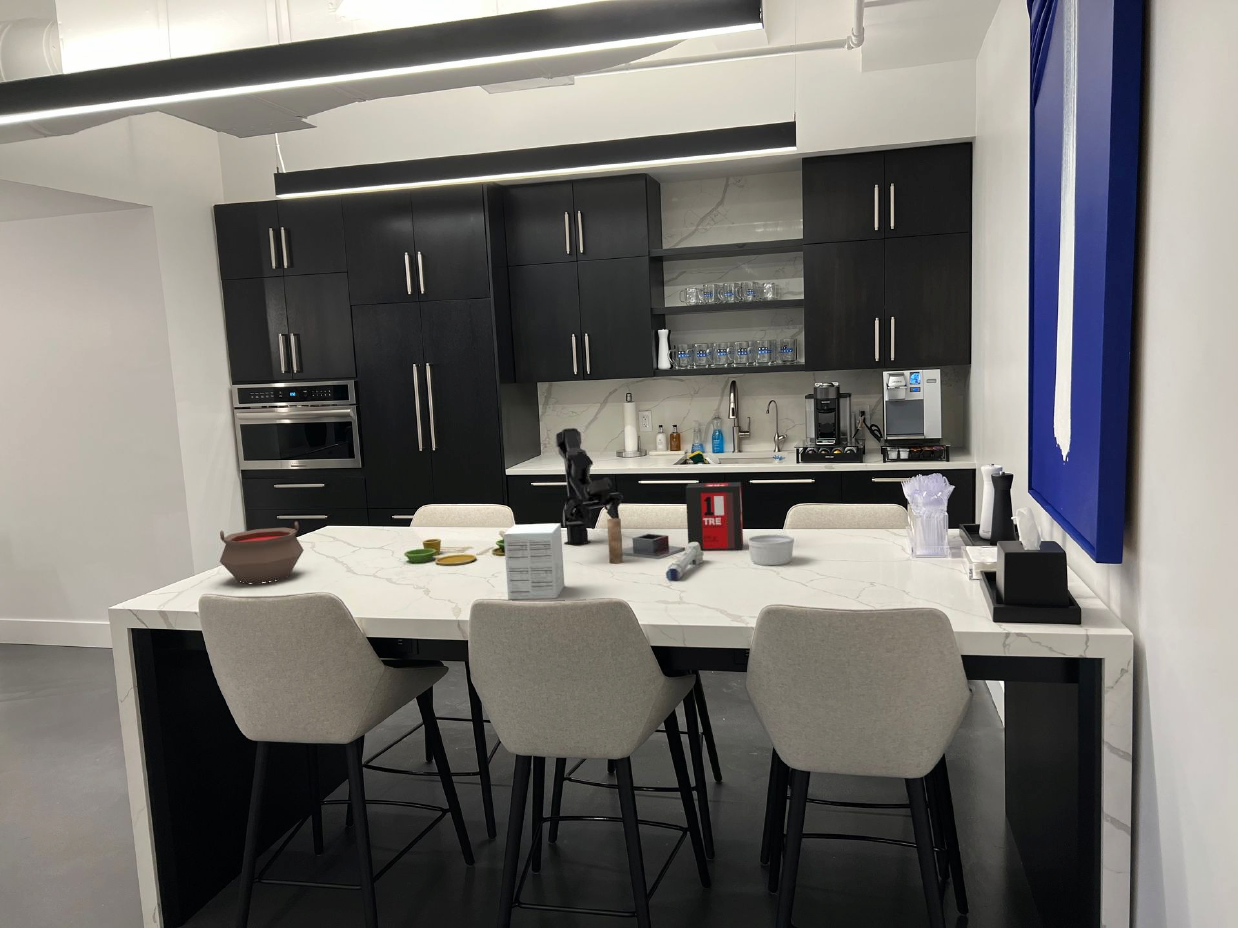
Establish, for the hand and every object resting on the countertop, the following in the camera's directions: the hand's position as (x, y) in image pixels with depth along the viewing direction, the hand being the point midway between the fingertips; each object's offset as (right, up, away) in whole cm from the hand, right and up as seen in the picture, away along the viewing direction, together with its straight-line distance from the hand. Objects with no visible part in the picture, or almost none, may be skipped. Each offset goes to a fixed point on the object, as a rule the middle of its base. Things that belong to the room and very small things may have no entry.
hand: (606, 526), depth 278 cm
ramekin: (+48, -10, -12) cm, 50 cm away
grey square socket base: (+14, -9, +10) cm, 19 cm away
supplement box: (-18, -16, -33) cm, 41 cm away
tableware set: (-42, -12, +18) cm, 47 cm away
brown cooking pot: (-104, -16, +1) cm, 105 cm away
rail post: (+3, -11, -2) cm, 11 cm away
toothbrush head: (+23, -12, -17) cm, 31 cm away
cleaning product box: (+34, -8, +11) cm, 37 cm away
